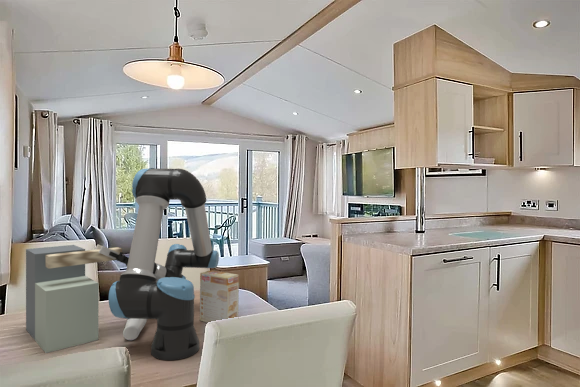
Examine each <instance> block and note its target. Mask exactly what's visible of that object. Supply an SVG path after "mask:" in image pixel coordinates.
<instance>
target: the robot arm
mask: <svg viewBox="0 0 580 387" xmlns="http://www.w3.org/2000/svg"><path fill="white" fill-rule="evenodd" d="M131 188H132V189H131V192H132V193H131V194H132V196H133V197H134V199H135V202H136V204H137V205H138V210H137V215H136V220H135V221H136V222H135V225H134V231H133V234H132V235H133V236H132V241H131V245H130V250H129V255H128V256H126V255H125V254H124V252H123V251H122V252H120V254H119V253H118V252H116V251H113V250H111V249H109V248H110V247H109V248H108V247H106V246H104V245H101V244H98V243H97V245H96V246H95V248H94V250H97V249H100V251H99V252H98V253H101V254H103V255H105V256H108V257H110V258H112V259H116V258H117V259H116V260H115V261H117V262H120V263H123V264H125V267H126V270H125V271H124V272H122V273H121V274H120V275H119V276H120V277H119V280H116V281H115V282H113V283H112V284H111V286H110V288H109V291H108V307H109V309H110V312H111V314H112V315H113V316H114V317H116V318H118V319H130V318H133V319H147V320H156V331H155V334H154V337H153V340H152V343H151V346H150V350H151V352H150V353H151V356H152V357H153V358H155V359H156V360H157V359H158V360H163V361H175V360H176V361H178V360H183V359H186V358H189V357H191V356H193V355H195V354H196V353H198V351H199V349H200V340H199V337H198V334H197V331H196V328H195V324H194V323H195V298H196V296H195V286H194V284H193V282H191V281H190V280H188V279H187V277H186V276H185V275H183V274H182V273H183V271H184V269H185V268H189V269H190V268H191V269H192V268H193V269H194V268H196V269H198V268H199V269H214V268H217V267H218V265H219V260H220V259H219V258H220V257H219V256H220V254H219V252H218V250H214V249H213V247H212V242H211V241H212V240H211V235H210V231H209V230H210V228H209V224H208V222H209V221H208V218H207V217H208V216H207V211H206V205H205V204H206V203H207V196H206V191H205V189H204V187H203V185H202V183H201V182H200V180H199V179H198V178H197V177H196V176H195V175H194V174H192V172H190V171H188V170H186V169H183V168H155V167H150V168H142V169H140V170H138V171H137V172H136V173H135V175H134V177H133V180H132V183H131ZM171 200H172V201H174V200H176V201H177V200H178V201H180V203H181V204H180V205H181V206H182V207H183V208H184V210H185V215H186V220H187V225H188V229H189V234H190V239H191V243H192V247H193V248H192V249H188V248H187V246H185V245H183V244H180V243H174V244H172V245H170V246H169V249H168V253H167V254H166V259H165V264H164V265H162V264H160V263H156V256H157V252H158V246H159V240H160V233H161V228H162V221H163V216H164V211H165V209H167V208H168V207H169V206H170V201H171ZM118 254H119V255H118Z"/></svg>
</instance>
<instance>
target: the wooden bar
mask: <svg viewBox="0 0 580 387" xmlns="http://www.w3.org/2000/svg"><path fill="white" fill-rule="evenodd" d="M109 249H111V250H113V251H116V252H118V253H119V254H120V252H122V253H123V248H121V247H118V246H117V247H109ZM99 251H100V249H97V250H95V249H91V250H89V249H88V250H85V251H78V252H68V253H59V254H50V255H46V267H47V268H48V269H50V268H58V267H65V266H73V265H81V264H85V265H88V264H96V263H102V262H110V261H111V262H112V261H117V260H116V259H117V258H116V259H112V258H110V257H108V256H105V255H103V254H101V253H98V252H99ZM119 254H118V255H119Z"/></svg>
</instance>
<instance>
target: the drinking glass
mask: <svg viewBox="0 0 580 387" xmlns="http://www.w3.org/2000/svg"><path fill="white" fill-rule="evenodd" d="M147 321H148V319H133V318H130V319H127V320H126V323H125V325H124V328H123V331H122V336H123V338H124V339H125V340H128V341H134V340H136V339H137V338H138V337H139V335H140V333H141V332H142V330H143V328H144V327H145V326H146V324H147Z"/></svg>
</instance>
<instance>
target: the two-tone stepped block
mask: <svg viewBox="0 0 580 387" xmlns="http://www.w3.org/2000/svg"><path fill="white" fill-rule="evenodd" d="M78 251H86V248H83V247H80V246H78V245H75V244H70V245H67V244H66V245H58V246H55V245H54V246H47V247H35V248H26V249H25V330H26V331H27V333H28V334H29V335H30V336H31V337H32V339H33V340H34V341H35V342H36V344H37V345H38V346H39V347H40V348H41V350H42V351H43V352H44V353H45V354H48V353H52V352H56V351H60V350H64V349H68V348H72V347H75V346H79V345H83V344H86V343H87V344H88V343H92V342H96V341H98V340H99V302H100V301H99V296H100V295H99V282H97V281H95V280H94V279H92V278H91V277H88V276H86V264H81V265H73V266H65V267H58V268H50V269H48V268H47V267H46V255H50V254H59V253H68V252H78Z"/></svg>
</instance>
